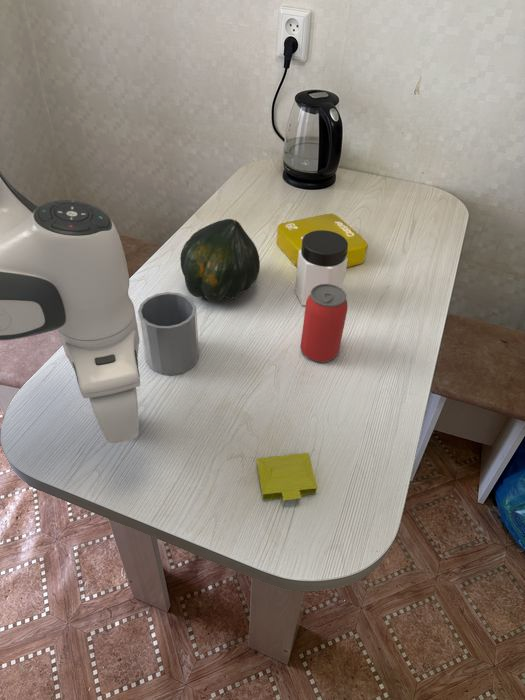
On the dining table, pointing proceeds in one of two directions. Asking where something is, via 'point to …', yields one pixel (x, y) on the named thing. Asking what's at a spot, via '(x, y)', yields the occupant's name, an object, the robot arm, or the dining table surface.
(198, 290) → the squash
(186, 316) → the steel cup
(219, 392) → the dining table surface
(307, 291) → the jar
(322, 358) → the beer can
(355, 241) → the yellow box
